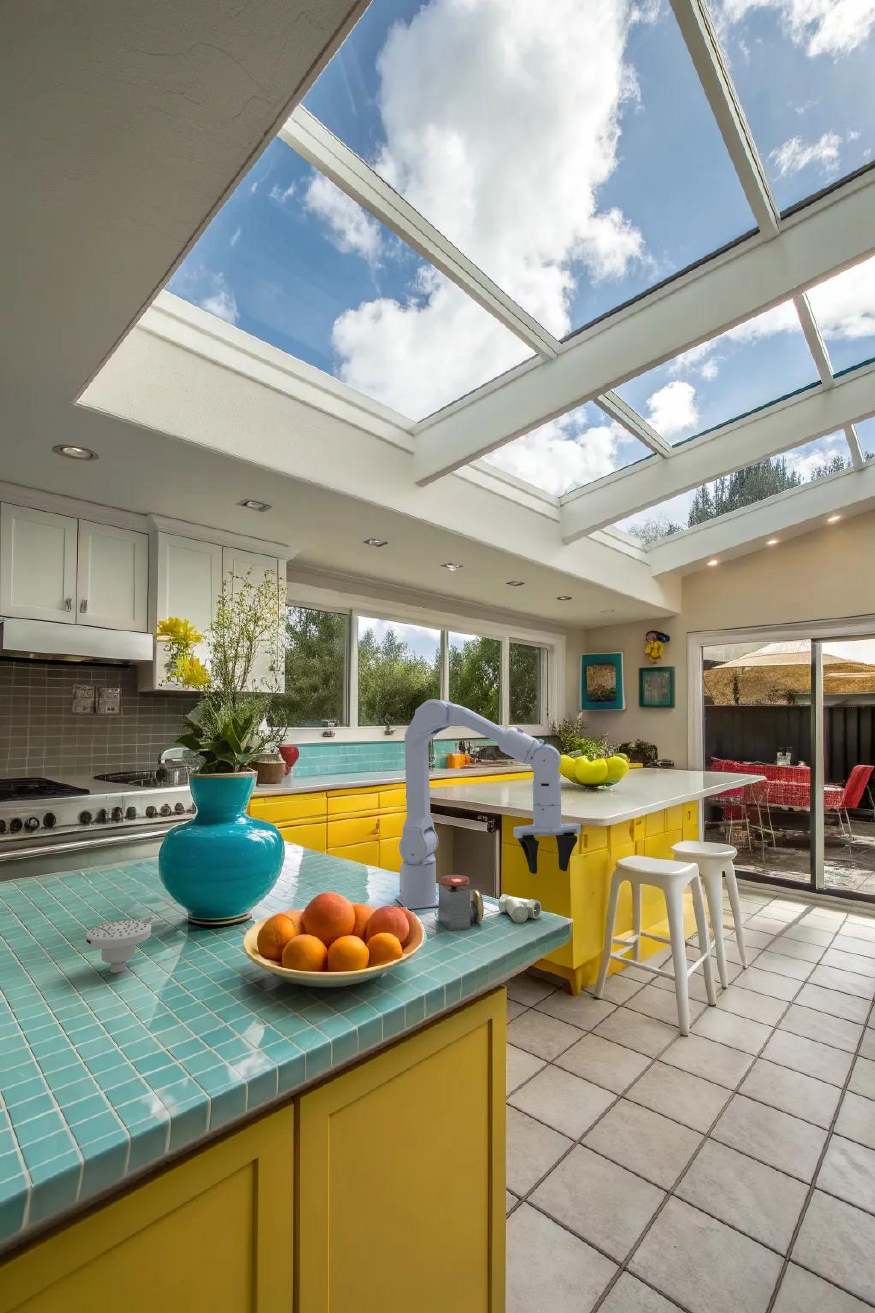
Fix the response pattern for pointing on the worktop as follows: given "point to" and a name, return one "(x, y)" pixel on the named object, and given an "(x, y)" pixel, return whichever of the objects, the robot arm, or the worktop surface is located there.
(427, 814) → the robot arm
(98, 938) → the showerhead
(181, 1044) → the worktop surface
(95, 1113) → the worktop surface
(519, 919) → the pipe fitting
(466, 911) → the grey block with discs
